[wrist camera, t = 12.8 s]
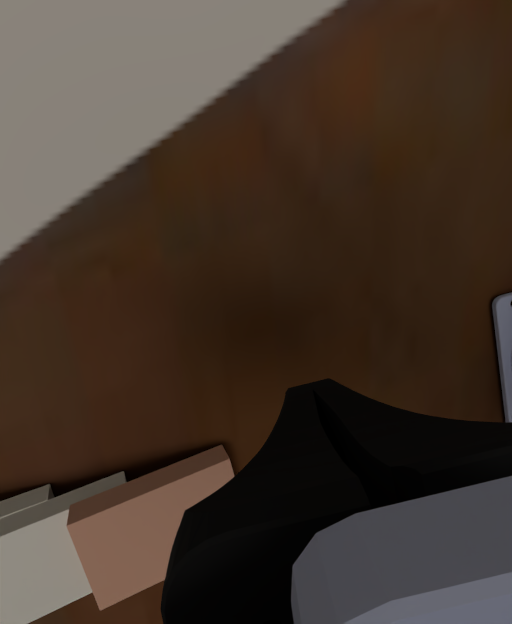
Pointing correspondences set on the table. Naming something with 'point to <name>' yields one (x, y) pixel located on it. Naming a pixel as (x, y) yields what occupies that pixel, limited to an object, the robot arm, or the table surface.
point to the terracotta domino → (140, 524)
